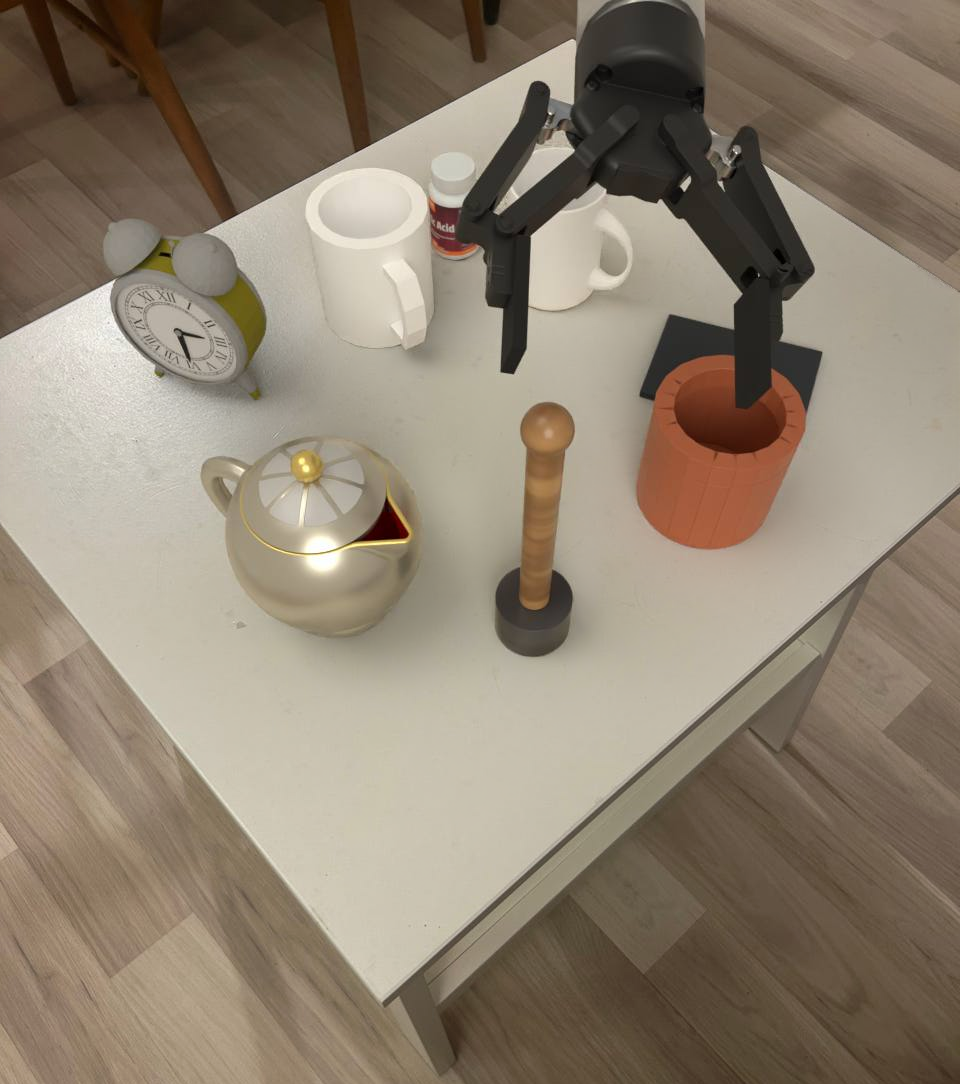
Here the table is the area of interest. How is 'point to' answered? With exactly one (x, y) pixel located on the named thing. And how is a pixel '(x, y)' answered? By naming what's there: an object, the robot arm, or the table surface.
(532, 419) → the brush
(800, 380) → the mat
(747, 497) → the jar
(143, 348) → the alarm clock
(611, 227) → the mug
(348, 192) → the mug
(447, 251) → the pill bottle
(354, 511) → the teapot
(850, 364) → the table surface
